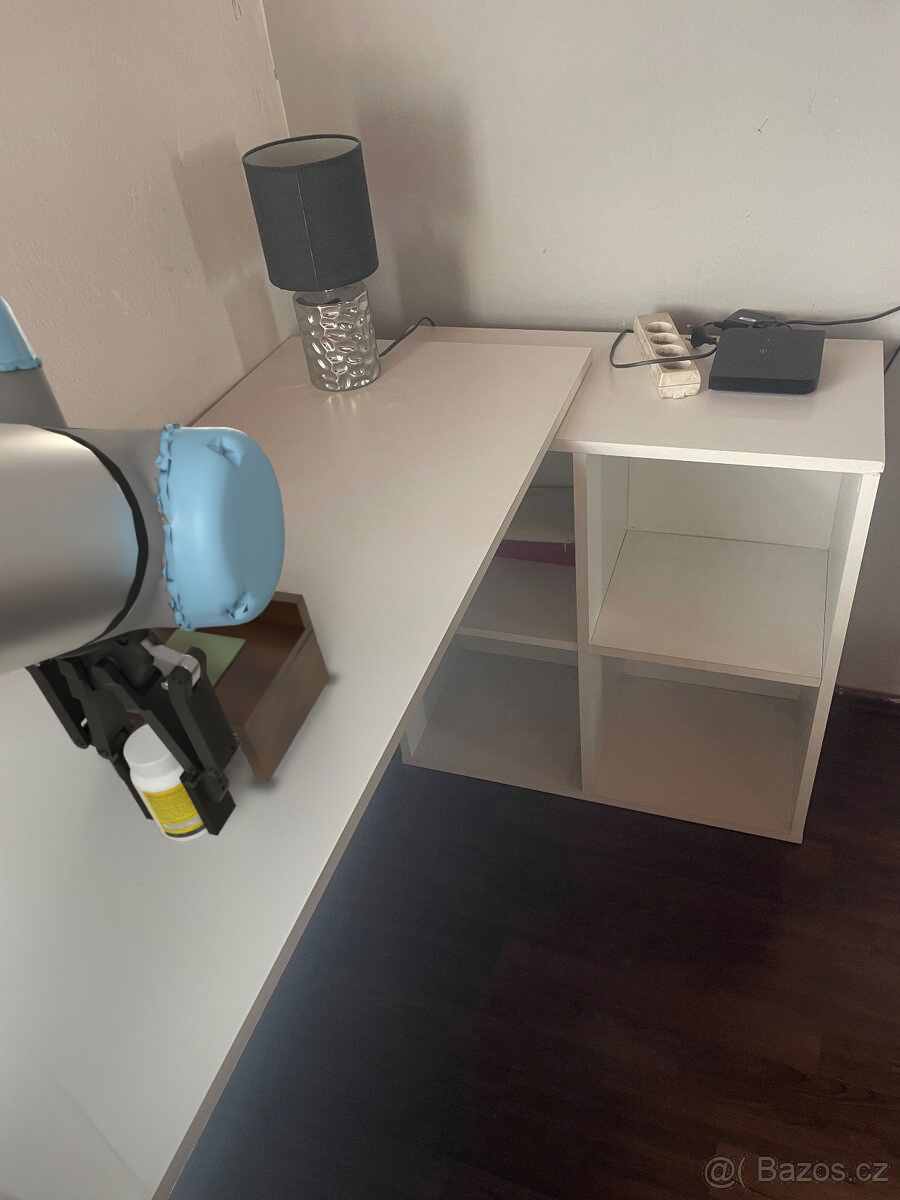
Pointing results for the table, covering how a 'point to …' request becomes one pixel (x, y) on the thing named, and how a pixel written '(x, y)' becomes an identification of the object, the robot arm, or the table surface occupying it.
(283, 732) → the shelf
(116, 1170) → the table surface
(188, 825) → the supplement bottle
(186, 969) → the table surface
